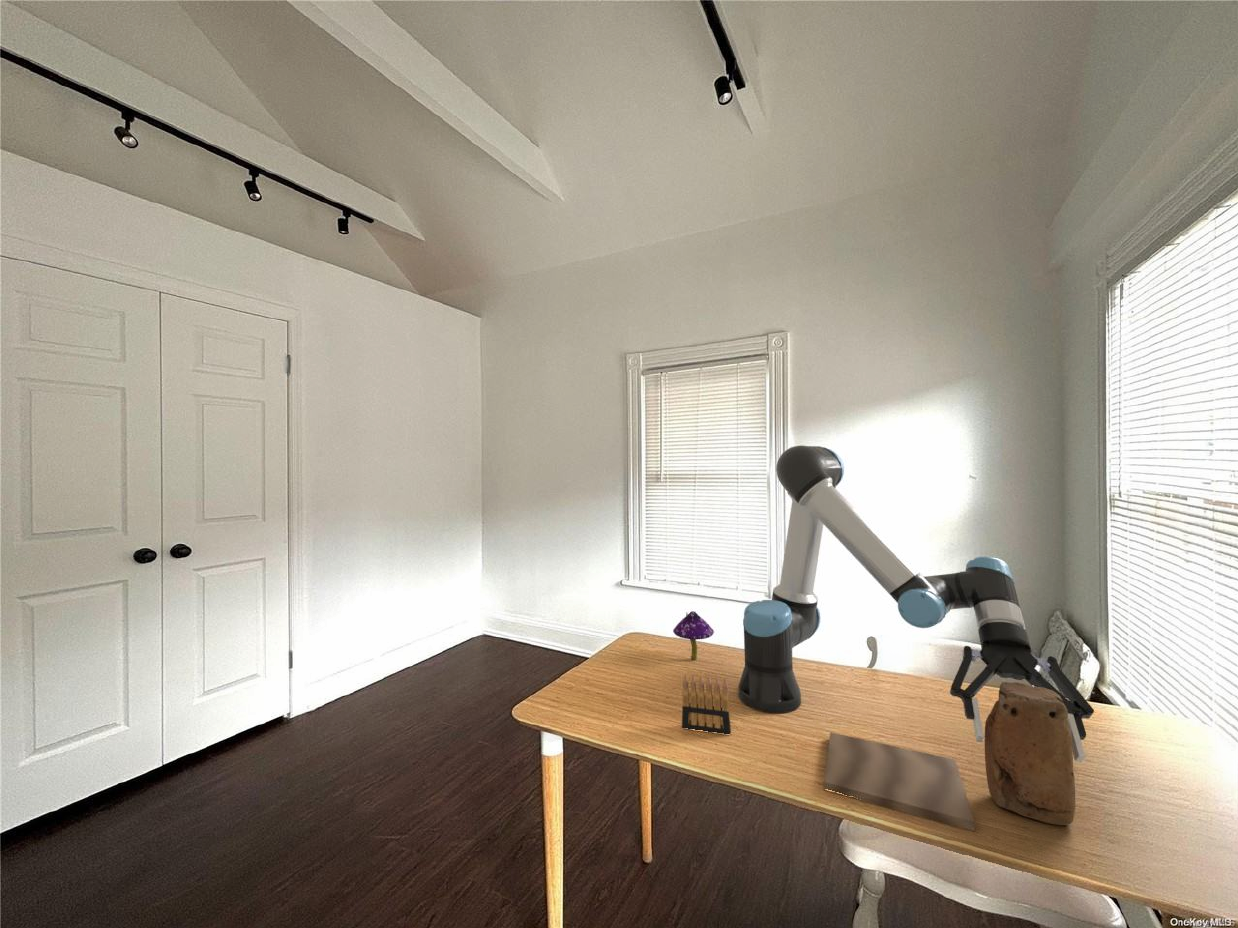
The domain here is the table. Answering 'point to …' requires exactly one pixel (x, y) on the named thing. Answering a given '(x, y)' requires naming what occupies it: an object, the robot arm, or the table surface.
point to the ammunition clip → (705, 707)
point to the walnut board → (898, 779)
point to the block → (1030, 754)
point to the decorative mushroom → (693, 630)
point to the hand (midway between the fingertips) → (1028, 748)
